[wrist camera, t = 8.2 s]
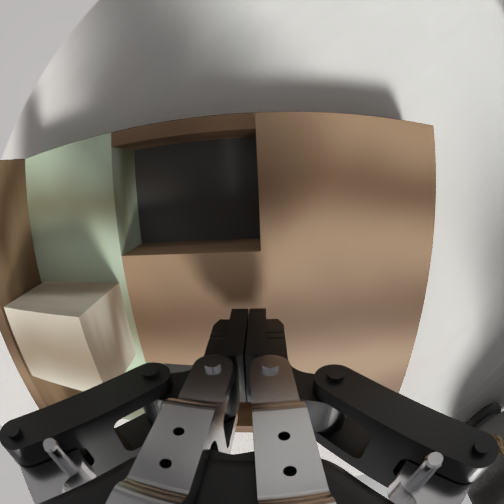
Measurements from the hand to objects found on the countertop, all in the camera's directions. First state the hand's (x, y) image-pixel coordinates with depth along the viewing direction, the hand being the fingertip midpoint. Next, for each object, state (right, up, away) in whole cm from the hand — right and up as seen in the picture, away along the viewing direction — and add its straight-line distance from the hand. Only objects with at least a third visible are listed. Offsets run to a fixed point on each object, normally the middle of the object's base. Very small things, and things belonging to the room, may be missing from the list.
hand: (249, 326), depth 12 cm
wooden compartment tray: (-2, +1, +4) cm, 5 cm away
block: (-10, -1, +2) cm, 10 cm away
